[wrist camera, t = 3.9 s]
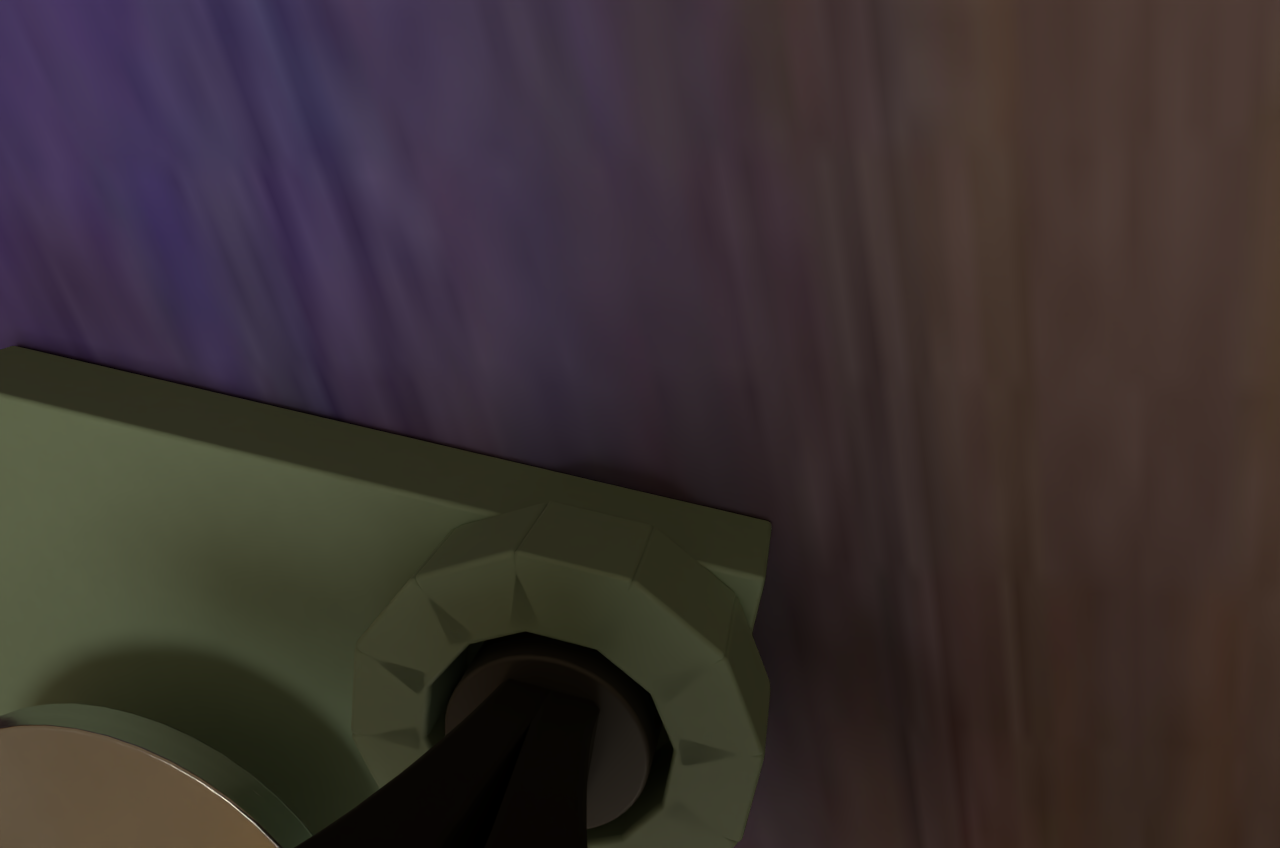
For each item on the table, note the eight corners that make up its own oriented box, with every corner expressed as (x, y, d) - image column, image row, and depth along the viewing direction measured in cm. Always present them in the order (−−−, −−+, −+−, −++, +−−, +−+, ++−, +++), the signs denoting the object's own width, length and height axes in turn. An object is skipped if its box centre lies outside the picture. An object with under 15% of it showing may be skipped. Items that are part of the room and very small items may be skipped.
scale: (806, 502, 14) (801, 621, 11) (672, 1019, 19) (642, 1210, 16) (10, 319, 16) (-196, 376, 13) (67, 833, 21) (-73, 970, 17)
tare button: (684, 624, 13) (666, 689, 12) (651, 779, 14) (631, 857, 13) (491, 576, 13) (451, 633, 12) (473, 731, 14) (434, 801, 13)
